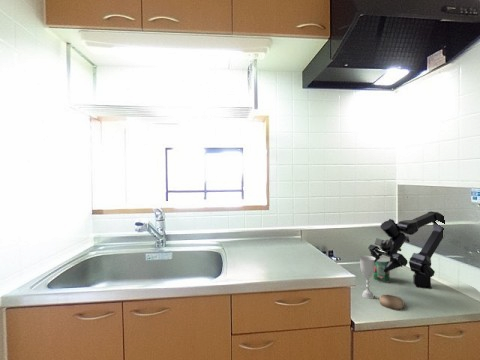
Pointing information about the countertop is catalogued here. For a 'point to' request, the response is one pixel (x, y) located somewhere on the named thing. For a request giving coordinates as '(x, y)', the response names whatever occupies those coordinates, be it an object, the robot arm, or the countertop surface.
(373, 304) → the countertop surface
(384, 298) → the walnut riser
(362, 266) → the chalice
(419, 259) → the robot arm
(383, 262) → the canned tomato
